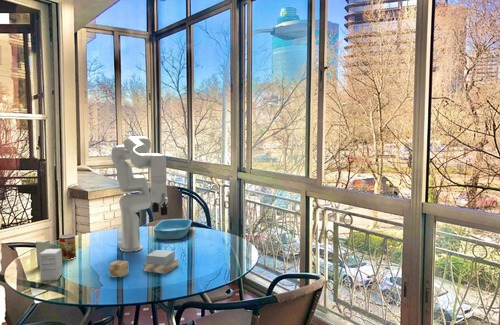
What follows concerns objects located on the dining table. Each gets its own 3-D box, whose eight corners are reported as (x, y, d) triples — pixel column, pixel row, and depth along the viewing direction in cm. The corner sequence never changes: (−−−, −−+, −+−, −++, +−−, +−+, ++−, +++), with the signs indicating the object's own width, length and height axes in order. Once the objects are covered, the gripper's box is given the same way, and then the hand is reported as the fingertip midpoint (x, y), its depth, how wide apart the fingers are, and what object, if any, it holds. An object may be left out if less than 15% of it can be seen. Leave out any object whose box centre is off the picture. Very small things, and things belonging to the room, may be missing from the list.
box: (51, 265, 202) (50, 240, 202) (44, 267, 198) (43, 242, 197) (43, 264, 204) (42, 239, 203) (36, 266, 200) (35, 241, 199)
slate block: (146, 263, 192) (146, 255, 192) (156, 257, 202) (156, 249, 202) (165, 265, 190) (165, 257, 189) (174, 258, 199) (174, 251, 199)
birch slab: (144, 272, 192) (143, 264, 192) (157, 264, 203) (157, 256, 203) (166, 274, 188) (165, 266, 188) (178, 266, 200) (178, 258, 199)
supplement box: (47, 275, 188) (45, 248, 187) (63, 274, 188) (62, 248, 188) (40, 280, 180) (38, 253, 180) (57, 280, 181) (55, 252, 180)
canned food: (69, 260, 209) (68, 238, 208) (56, 259, 211) (55, 237, 210) (79, 256, 217) (78, 234, 216) (66, 255, 218) (65, 233, 218)
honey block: (109, 276, 185) (109, 264, 185) (118, 272, 191) (117, 260, 190) (120, 278, 183) (120, 265, 183) (128, 273, 189) (128, 261, 188)
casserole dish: (162, 228, 281) (161, 218, 281) (193, 227, 281) (193, 217, 281) (150, 242, 244) (149, 230, 244) (186, 241, 245) (186, 230, 244)
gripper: (144, 178, 201) (145, 212, 202) (159, 181, 188) (160, 217, 189) (158, 177, 206) (159, 210, 207) (173, 180, 192) (174, 215, 193)
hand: (159, 213), depth 198 cm, fingers open, 9 cm apart
